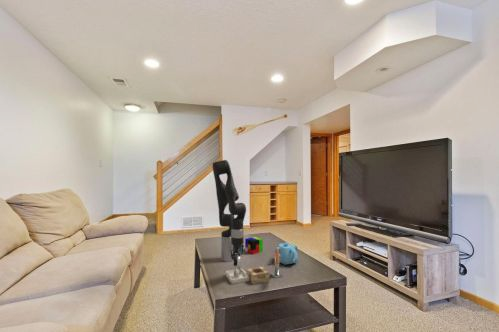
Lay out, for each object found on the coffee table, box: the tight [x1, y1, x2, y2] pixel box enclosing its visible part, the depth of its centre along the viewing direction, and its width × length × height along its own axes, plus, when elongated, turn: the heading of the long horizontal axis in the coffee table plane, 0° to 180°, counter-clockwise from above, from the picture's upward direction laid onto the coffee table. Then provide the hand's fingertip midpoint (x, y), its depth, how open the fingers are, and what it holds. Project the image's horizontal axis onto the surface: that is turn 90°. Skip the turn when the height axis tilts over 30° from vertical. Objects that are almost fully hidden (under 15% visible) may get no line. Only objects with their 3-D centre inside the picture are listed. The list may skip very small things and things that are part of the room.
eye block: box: [246, 266, 270, 285], centre depth 138 cm, size 10×10×5 cm
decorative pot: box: [273, 242, 299, 266], centre depth 165 cm, size 16×16×14 cm
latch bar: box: [273, 247, 280, 266], centre depth 137 cm, size 4×16×9 cm, turn 174°
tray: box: [225, 268, 251, 285], centre depth 139 cm, size 13×11×2 cm
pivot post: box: [269, 264, 284, 279], centre depth 143 cm, size 6×6×11 cm
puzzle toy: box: [244, 236, 264, 255], centre depth 187 cm, size 10×10×10 cm
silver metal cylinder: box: [233, 255, 242, 276], centre depth 140 cm, size 4×4×11 cm
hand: (237, 264), depth 140 cm, fingers closed on silver metal cylinder, 4 cm apart
